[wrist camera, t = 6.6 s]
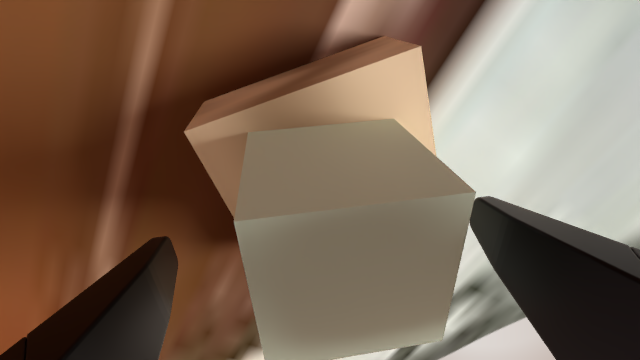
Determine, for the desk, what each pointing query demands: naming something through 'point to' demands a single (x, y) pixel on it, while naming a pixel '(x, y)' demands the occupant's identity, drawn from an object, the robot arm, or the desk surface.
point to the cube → (348, 239)
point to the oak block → (314, 104)
